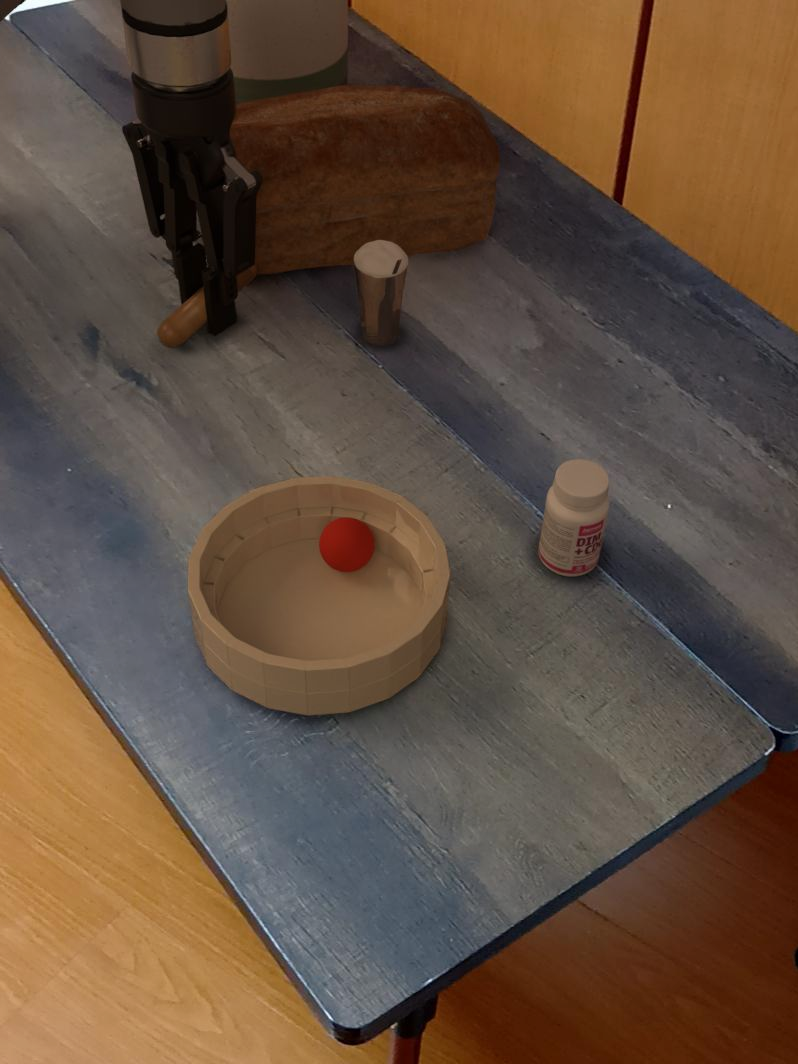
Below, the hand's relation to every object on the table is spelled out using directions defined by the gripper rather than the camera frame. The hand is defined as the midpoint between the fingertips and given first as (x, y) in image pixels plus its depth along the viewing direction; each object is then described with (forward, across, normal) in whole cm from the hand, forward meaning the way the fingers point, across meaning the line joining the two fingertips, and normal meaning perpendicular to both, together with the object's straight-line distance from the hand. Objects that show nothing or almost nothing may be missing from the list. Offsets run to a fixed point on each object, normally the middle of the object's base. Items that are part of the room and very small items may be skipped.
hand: (210, 320), depth 116 cm
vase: (0, +20, -28) cm, 35 cm away
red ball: (-2, -28, +14) cm, 32 cm away
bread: (0, 0, -18) cm, 18 cm away
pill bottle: (+1, -40, +2) cm, 40 cm away
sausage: (-2, +1, 0) cm, 2 cm away
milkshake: (0, -13, -8) cm, 15 cm away
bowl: (+1, -30, +19) cm, 36 cm away
